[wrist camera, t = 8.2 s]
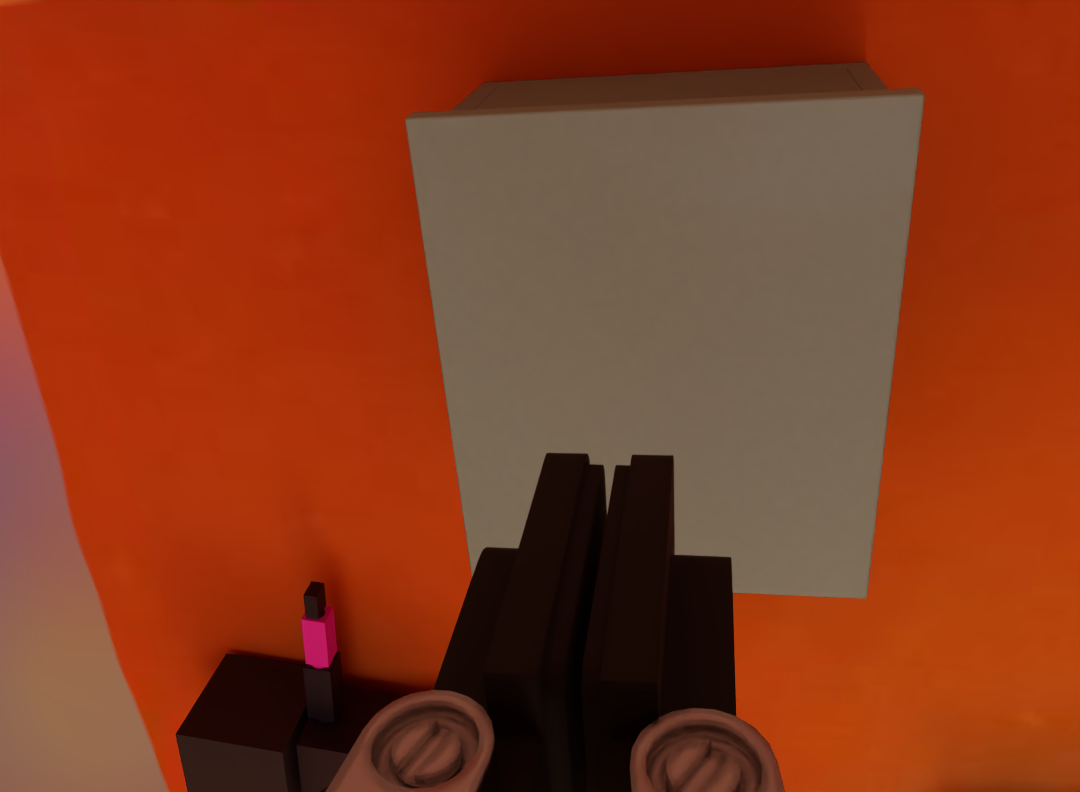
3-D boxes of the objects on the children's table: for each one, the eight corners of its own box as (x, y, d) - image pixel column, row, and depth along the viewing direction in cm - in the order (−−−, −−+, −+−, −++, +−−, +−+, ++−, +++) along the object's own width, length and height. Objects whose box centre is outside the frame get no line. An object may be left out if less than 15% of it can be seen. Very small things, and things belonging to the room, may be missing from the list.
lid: (411, 111, 26) (403, 118, 25) (919, 86, 24) (925, 93, 23) (476, 567, 34) (472, 581, 33) (863, 583, 32) (867, 599, 31)
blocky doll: (211, 532, 47) (144, 619, 42) (701, 603, 44) (700, 707, 39) (255, 808, 58) (206, 906, 52) (652, 880, 55) (646, 993, 50)
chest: (482, 82, 34) (417, 139, 27) (866, 61, 32) (915, 118, 24) (520, 441, 42) (477, 566, 34) (834, 447, 39) (863, 583, 32)
